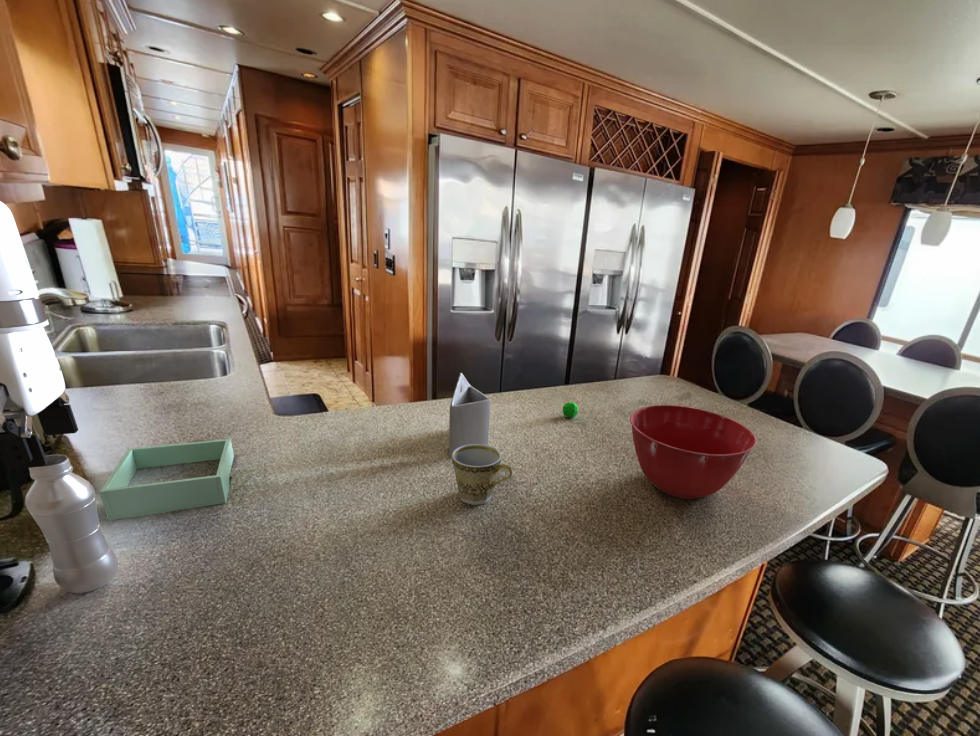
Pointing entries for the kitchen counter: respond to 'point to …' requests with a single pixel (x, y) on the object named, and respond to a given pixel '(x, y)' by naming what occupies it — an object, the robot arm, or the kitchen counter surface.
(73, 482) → the plastic bottle
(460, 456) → the ceramic cup
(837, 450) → the kitchen counter surface
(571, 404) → the polyhedron
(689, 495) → the mixing bowl
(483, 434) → the planter
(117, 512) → the mint green tray frame
